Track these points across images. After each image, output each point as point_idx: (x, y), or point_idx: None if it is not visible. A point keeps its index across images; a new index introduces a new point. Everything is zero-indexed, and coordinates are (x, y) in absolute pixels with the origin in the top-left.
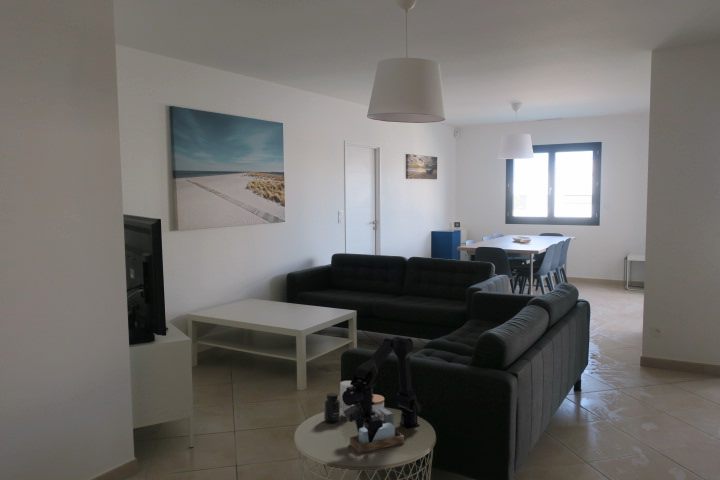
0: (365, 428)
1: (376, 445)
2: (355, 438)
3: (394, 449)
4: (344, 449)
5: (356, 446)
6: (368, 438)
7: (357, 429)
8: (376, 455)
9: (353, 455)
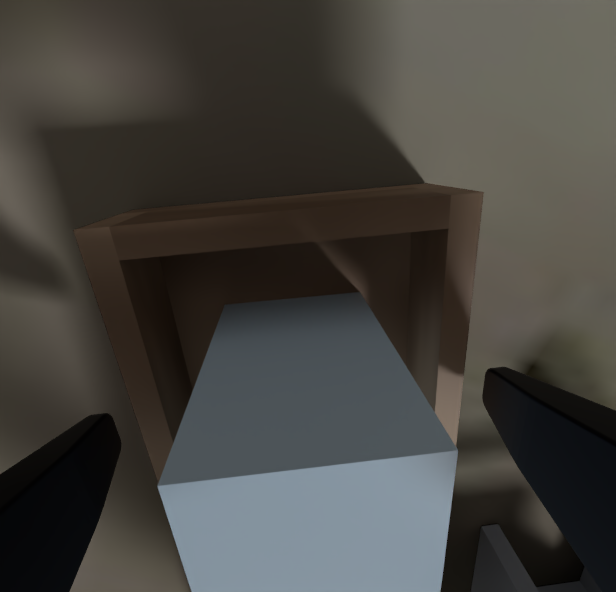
0: (375, 568)
1: None
2: (430, 278)
3: (144, 544)
4: (308, 29)
5: (212, 208)
6: (48, 459)
7: (561, 394)
8: (29, 376)
9: (65, 92)
